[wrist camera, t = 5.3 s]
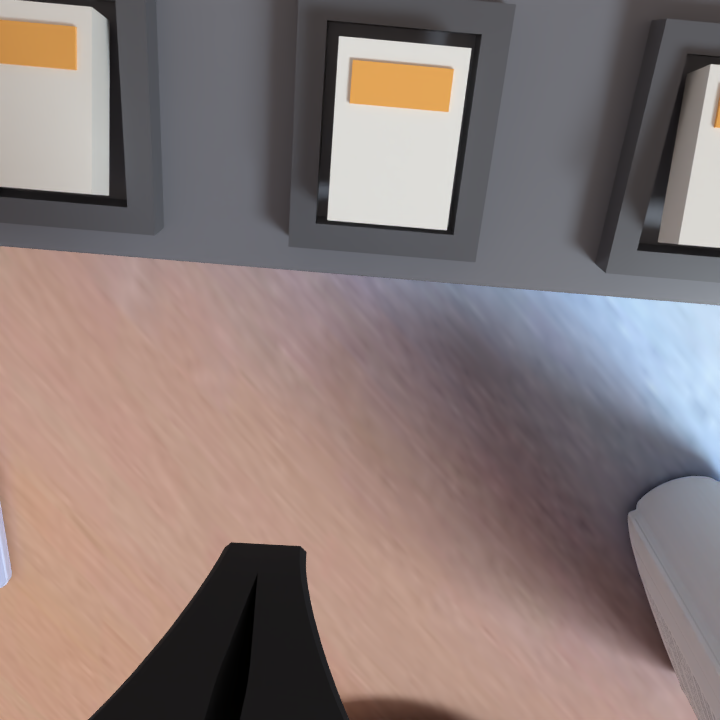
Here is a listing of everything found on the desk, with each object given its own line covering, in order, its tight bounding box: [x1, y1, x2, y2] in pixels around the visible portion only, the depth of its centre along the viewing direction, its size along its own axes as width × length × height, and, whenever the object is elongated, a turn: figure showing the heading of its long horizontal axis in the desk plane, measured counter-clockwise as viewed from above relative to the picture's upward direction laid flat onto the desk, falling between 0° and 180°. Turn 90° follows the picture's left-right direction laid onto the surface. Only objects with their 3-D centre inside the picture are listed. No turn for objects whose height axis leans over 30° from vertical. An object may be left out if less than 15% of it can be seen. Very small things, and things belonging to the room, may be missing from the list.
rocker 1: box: [0, 0, 110, 196], centre depth 14 cm, size 3×4×1 cm
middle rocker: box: [327, 36, 472, 230], centre depth 14 cm, size 3×4×1 cm
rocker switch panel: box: [0, 0, 720, 305], centre depth 17 cm, size 32×7×4 cm, turn 85°
